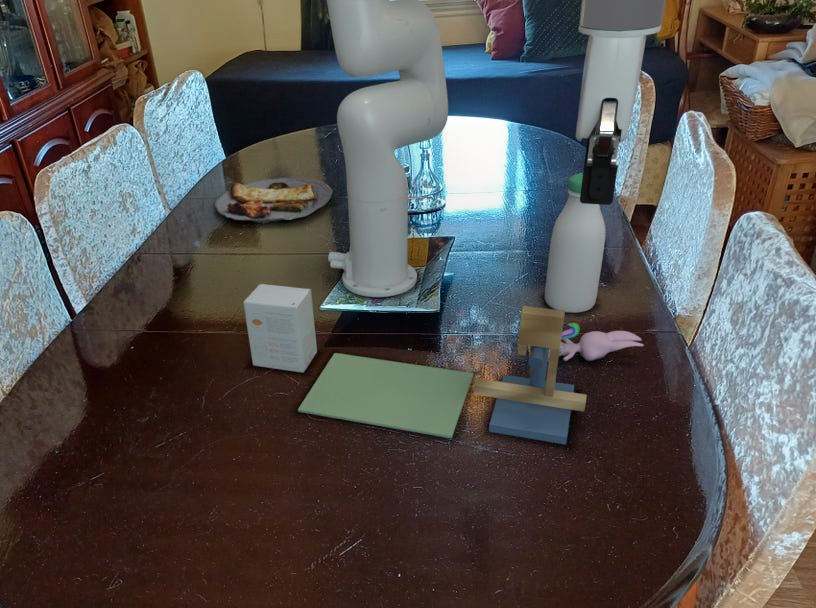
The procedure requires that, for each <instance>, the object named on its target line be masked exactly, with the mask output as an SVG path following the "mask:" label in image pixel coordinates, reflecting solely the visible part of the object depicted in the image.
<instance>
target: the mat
mask: <svg viewBox="0 0 816 608" xmlns="http://www.w3.org/2000/svg"><path fill="white" fill-rule="evenodd" d="M474 374H475V373H474V372H468V371H461V370H454V369H447V368H441V367H434V366H426V365H420V364H414V363H406V362H399V361H393V360H386V359H379V358H373V357H367V356H359V355H351V354H345V353H339V352H334V353H333V355H332V356H331V358H330V359H329V360H328V362H327V364H326V366H325V367H324V369H323V370H322V371H321V373H320V375H319V376H318V377H317V379H316V381H315V383H314V384H313V386H312V387H311V389H309V392H308V393H307V394H306V396H305V398H304V399H303V401H302V402H301V404H300V406H299V407H298V408H297V411H298V413H302V414H303V413H304V414H310V415H314V416H321V417H326V418H333V419H339V420H343V421H349V422H355V423H362V424H367V425H372V426H376V427H377V426H378V427H384V428H388V429H393V430H394V429H395V430H400V431H406V432H411V433H418V434H423V435H430V436H435V437H440V438H446V439H453V436H454V433H455V430H456V427H457V424H458V422H459V419H460V416H461V413H462V410H463V407H464V404H465V401H466V398H467V395H468V392H469V389H470V387H471V384H472V382H473V378H474Z"/></svg>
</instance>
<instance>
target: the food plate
mask: <svg viewBox="0 0 816 608" xmlns="http://www.w3.org/2000/svg"><path fill="white" fill-rule="evenodd" d="M333 191H334V190H333V189H332V188H331V187H330V186H329V185H328V184H327V183H325V182H323V181H321V180H320V181H319V180H317V179H309V178H304V177H300V176H287V177H286V176H285V177H275V178H267V179H260V180H259V179H258V180H255V181H250V182H247V183H244V184H243V183H240V182H234V183H232V184H231V187H230V189H228V190H226V191H224V192H222V194H220V195H218V197H217V198H216V199H215V200H214V202H213V204H212V205H213V209H214V210H215V211H216V213H217V214H218V215H219V216H222V219H224V218H226V219H229V218H230V219H231V220H232V221H250V222H253V223H258V224H260V223H261V224H262V225H263V224H264V225H265V224H267V223H271V222H280V221H282V220H286V221H289V220H294V219H299V218H303V217H307V216H308V215H311V214H313V213H314V212H315V211H317V210H318V209H321V208H322V207H323V206H325V205H326V204H327V203H328V202H330V200H331V198H332V195H333Z"/></svg>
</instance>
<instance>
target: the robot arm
mask: <svg viewBox="0 0 816 608" xmlns="http://www.w3.org/2000/svg"><path fill="white" fill-rule="evenodd" d="M666 1H667V0H581V7H580V15H579V24H578V33H581V34H583V35H588V39H587V45H586V49H585V50H586V51H585V57H584V62H583V71H582V78H581V86H580V93H579V95H580V96H579V102H578V103H579V104H578V110H577V111H578V112H577V121H576V129H575V138H576V139H577V141H578V142H582V141H583V139H587V140H586V141H587V142H586V149H585V156H584V163H583V171H582V174H583V178H582V186H581V194H580V202H581V203H584V204H599V205H600V206H601V205H604V206H610V205H611V204H613V201H614V195H615V190H616V189H615V188H616V182H617V175H618V169H619V165H618V164H617V161H618V160H617V159H618V154H619V153H618V152H619V146H620V145H619V144H620V143H622V142H623V141H625V140H626V139H627V136H628V132H629V130H630V129H629V128H630V124H631V120H632V116H633V111H634V108H635V107H634V106H635V103H636V102H635V101H636V98H637V93H638V87H639V82H640V76H641V72H642V64H643V59H644V53H645V47H646V41H647V36H649V35H654V34H657V33H659V32H661V31H662V25H663V18H664V14H665V7H666ZM326 5H327V10H328V11H327V12H328V17H329V22H330V27H331V28H330V29H331V35H332V40H333V46H334V50H335V54H336V55H335V56H336V58H337V62H338V65H339V67H340V70H342V72H343V73H345V75H347V76H349V77H353V78H367V77H373V76H377V75H383V74H388V73H392V72H393V73H394V72H398V76H399V80H395V81H389V82H384V83H379V84H374V85H369V86H365V87H362V88H358V89H357V90H354V91H352V92H351V93H349V94H348V95H346V96H345V97H344V99H342V101H341V103H340V104H339V105H338V108H337V113H336V123H337V124H336V125H337V129H338V136H339V139H340V143H341V148H342V152H343V157H344V163H345V164H344V167H345V175H346V194H347V206H348V207H347V208H348V226H349V227H348V232H349V249H350V250H349V251H346V253H344V252H339V251H329V253H328V257H327V258H328V259H327V261H328V263H330V268H331V269H339V270H341V269H342V270H343V273H342V275H341V277H342V285H343V286H344V288H345V289H346V290H348V292H351V293H353V294H355V295H358V296H363V297H368V298H387V297H394V296H398V295H401V294H403V293H406V292H408V291H409V290H411V289H412V288H413V287H415V285H416V284H417V281H418V273H417V271H416V269H415V268H414V267H413V266H412V265H410V264H409V257H408V256H409V252H408V251H409V231H408V229H409V226H408V225H409V221H408V220H409V218H408V217H409V216H408V215H409V212H408V211H409V206H408V205H409V199H408V197H409V192H408V191H409V189H408V186H409V185H408V177H407V173H406V170H405V168H404V166H403V165H402V163H401V162H400V160H399V159H398V158H397V156H396V153H395V152H396V150H398V149H402V148H404V147H407V146H412V145H415V144H418V143H422V142H426V141H429V140H432V139H434V138H436V137H438V136H440V134H441V133H442V132H443V130H444V129H445V127H446V125H447V122H448V117H449V98H448V97H449V96H448V88H447V80H446V72H445V63H444V54H443V46H442V40H441V33H440V28H439V25H438V21H437V19H436V17H435V15H434V13H433V11H432V9H430V7H429V6H428V5H427V4H426V3H424V2H423V1H421V0H326Z"/></svg>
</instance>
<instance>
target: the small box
mask: <svg viewBox="0 0 816 608" xmlns="http://www.w3.org/2000/svg"><path fill="white" fill-rule="evenodd" d="M312 295H313V294H312V289H311V288H304V287H294V286H284V285H274V284H265V283H259V284H258V285H257V286H256V288H255V289H253V291H252V292H251V293H250V294H249V295H248V296H247V297H246V298H245V299H244V301H243V309H244V316H245V322H246V329H247V336H248V343H249V348H250V355H251V362H252V363H251V364H252V365H253V366H254V367H261V368H268V369H275V370H282V371H289V372H296V373H305V371H306V370H307V368H308V367H309V366H310V364H311V363H312V361H313V359H314V358H315V356H316V354H317V353H318V347H317V346H318V345H317V336H316V326H315V317H314V316H315V315H314V307H313V306H314V305H313V296H312Z"/></svg>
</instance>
